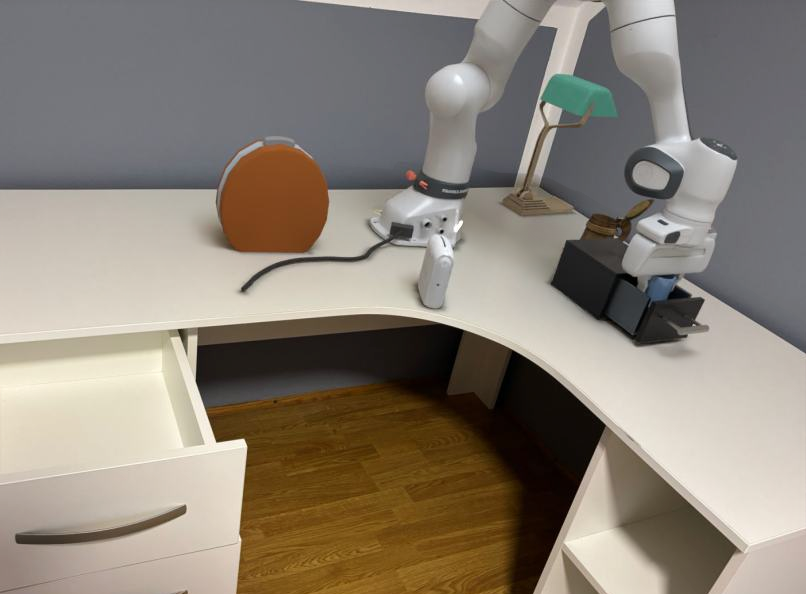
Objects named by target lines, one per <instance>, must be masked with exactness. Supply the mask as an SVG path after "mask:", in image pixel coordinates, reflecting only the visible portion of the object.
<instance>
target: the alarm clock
mask: <svg viewBox="0 0 806 594" xmlns="http://www.w3.org/2000/svg"><path fill="white" fill-rule="evenodd" d="M219 178H220V179H219V181H218V184H217V188H216V195H215V207H216V213H217V217H218V221H219V223H220V225H221V228H222V231H223V234H224V235H225V237H226V239H227V241H228V243H229V245H230V246H232V247H233V248H234V249H235V250H236V251H237V252H241V253H242V252H243V253H246V252H247V253H248V252H249V253H294V254H295V253H296V254H297V253H299V254H300V253H301V254H302V253H305V252H307V251H308V250H309V249H311V248H312V247H313V246H314V244H315V243H316V242H317V241H318V239H320V237H321V235H322V232H323V230H324V228H325V225H326V224H327V221H328V215H329V206H330V197H329V189H328V182H327V180H326V177H325V176H324V174H323V172H322V170H321V168H320V166H319V164H318V163H317V162H316V161H315V160H314V158H313V156H312V155H311V154H310V153H309V152H307V151H306V150H305V149H304V148H302V147H301V146H300V145H299V144H298V143H297V142H296V141H295V140H294V139H293V138H290V137H287V136H280V135H270V136H265V137H264V138H262V139H256V140H254V141H252V142H250V143H249V144H246V145H244V146H243V147H241V148H239V149H238V150H237V151H236V152H235V154H234V155H232V157H231V158H230V160H229V161H228V162H227V163H226V165H225V166H224V168H223V171H222V173H221V177H219Z"/></svg>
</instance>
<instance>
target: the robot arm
mask: <svg viewBox="0 0 806 594" xmlns="http://www.w3.org/2000/svg"><path fill="white" fill-rule="evenodd" d="M557 1H558V0H489V2H488V3H487V5H486V7H485V8H484V10H483V11H482V14H481V15H480V17H479V18H478V20H477V22H476V23H475V26H474V29H473V38H472V41H471V43H470V46H469V48H468V51H467V54H466V55H465V57H464V59H463V60H462V61H461V62H460V63H454V64H448V65H446V66H443V67H442V68H441V69H439V70H438V71H436V72H435V73H434V74H433V75H432V76H431V77H430V78H429V80H428V81H427V83H426V86H425V88H424V89H425V90H424V99H425V104H426V107H427V108H428V109H429V132H428V133H429V135H428V141H427V147H426V151H425V156H424V160H423V164H422V165H423V166H422V168H421V169H420V170H419V172H418V174H417V173H416V172H414V171H413V170H408V171H407V172H406V173H405V177H406V179H408V180H409V181H410V182H412V184H411V186H409V187H407V188H406V189H404V190H402V191H401V192H399V193H398V194H396V195H394V196H393V197H391V198H389V199H388V200H387V201H386V202H385V203H384V205H383V208H382V210H381V213H380V216H372V217H370V220H369V226H370V228H371V230H373V231H374V233H376V234H377V236H379V237H380V238H382V241H380V242H378V243H376V244H374V245H373V246H371V247H370V248H369V249H368V250H367V251H366V252H365V253H364V254H362V255H358V256H334V255H333V256H332V255H329V256H328V255H327V256H325V255H323V256H303V257H293V258H288V259H284V260H280V261H277V262H275V263H272V264H270V265H268V266H266V267H264V268H262V269H261V270H259V271H258V272H256V273H254V275H252V276H251V278H249V280H247V281H246V283H244V285H242V287H241V288H240V290H241V292H245V291H246V290H247V289H249V287H250V286H251V285H252V284H253V283H254V282H255V281H256V280H258V279H259V277H261V276H262V275H264V274H266V273H268V272H269V271H271V270H273V269H275V268H278V267H280V266H281V267H282V266H284V265H289V264H293V263H300V262H319V261H338V262H339V261H340V262H355V261H361V260H364V259H366V258H368V257H369V256H370V255H371V254H372V253H373V251H375V250H376V249H378V248H380V247H382V246H384V245H386V244H389V243H390V244H393V245H395V246H406V247H407V246H408V247H423V248H424V247H426V248H427V243H428V241H429V239H430V237H432V236H433V235H435V234H438V235H443V236H445V237H446V238H447V239H448V241H449V242H450V244H451V247H452V249H454V248H456V243H458V242H460V240H461V238H462V228H461V227H462V225H463V222H464V221H463V220H462V217H463V210H464V203H465V200H466V198H467V196H468V193H469V189H470V185H471V180H470V177H471V174H472V170H473V166H474V164H475V163H474V162H475V160H476V159H475V158H476V154H477V150H478V144H477V142H476V125H477V118H478V116H479V114H481V113H485V112H487V111H488V110H490V109H491V108H492V107H494V106H495V105H496V104H497V103H498V102H499V101H500V100H501V98H502V96H503V95H504V93H505V88H506V85H507V83H508V82H509V81H508V80H509V79H510V76H511V74H512V72H513V70H514V68H515V67H516V63H517V61H518V59H519V57H520V55H521V54H522V53H523V51H524V49H525V48H526V47H527V45H528V43H529V42H530V40H531V38H533V36H534V34H535V32H536V31H537V29H538V28H539V26H540V25H541V23H542V22H543V20H544V19H545V17H546V16H547V14H548V13H549V11H550V9H551V8H552V7H553V5H554V4H555V3H556V2H557ZM577 1H579V2H593V3H603V5H604V6H605V8H606V11H607V16H608V23H609V34H610V45H611V50H612V55H613V58H614V61H615V64H616V67H617V69H618V70H619V72H620V73H621V74H622V75H624V76H625V77H627V78H629V79H630V80H631V81H632V82H634V83H635V84H636V85H638V86H639V87H640V88H641V89H642V91H643V92H644V94H645V95H646V97H647V100H648V102H649V106H650V113H651V118H652V125H653V131H654V137H655V141H654V142H655V143H653V144H649V145H646V146H643V147H641V148H638V149H636V150H635V151H634V152H632V153H631V155H630V156H629V157H628V159H627V161H626V163H625V165H624V171H623V175H624V180H625V181H624V182H625V183H626V185H627V187H628V189H629V190H630V191H631V192H633V193H634V194H636V195H638V196H641V197H646V198H649V199H650V198H651V199H654V200H655V199H656V200H663V201H665V205H664V207H663V209H662V210H659V211H658V212H657V213H655V214H652V215H650V216H648V217H644V218H642V219H640V220H639V221H638V222H637V224H636V226H635V231H637V233H636V234H634V235H633V237H632V238H631V240H630V242H629V244H628V248H627V250H626V253H625V255H624V258H623V260H622V268H623V270H624V271H626V272H627V273H628V274H630V275H632V276H634V277H637V278H638V285H637V288H638V289H639V290H641V291H642V292H643V293H645V294H647V293H648V290H649V289H650V286H648V280H650V279H651V277H652V276H654V275H669V274H674V275H675V276H676V281H675V283H674V285H673V287H672V289H671V291H670V292H672V291H673V289H674V287H675V285H678V284H679V282H681V281H682V280H683V279H684V277H685V275H686V274H698V273H699V274H700V273H703V272H704V271H705V270H706V269H707V267H708V266H709V263H710V260H711V259H712V255H713V254H714V250H715V248H716V247H715V246H716V241H715V240H716V238H717V236H718V233H717V231H716V228H715V227H713V226H712V224H713V223H714V221H715V216H716V212H717V209H718V207H719V205H720V204H721V203H722V202H723V200H724V199H725V197H726V195H727V194H728V190H729V188H730V186H731V183H732V181H733V178H734V175H735V172H736V169H737V165H738V155H737V154H736V151H734V150H733V148H732V147H731V146H729V145H728V144H726V143H724V142H723V141H720V140H718V139H715V138H712V137H708V136H701V137H698V138H697V139H695V137H694V135H693V132H692V128H691V122H690V117H689V110H688V102H687V96H686V91H685V84H684V78H683V75H682V69H681V68H682V67H681V60H680V54H679V42H678V29H677V18H676V17H677V16H676V7H675V1H674V0H577Z"/></svg>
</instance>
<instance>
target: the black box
mask: <svg viewBox="0 0 806 594" xmlns="http://www.w3.org/2000/svg"><path fill="white" fill-rule="evenodd" d="M617 238H618V237H614V238H612V239H582V240H580V239H566V240H565V243H564V246H563V248H562V251H561V254H560V256H559V260H558V263H557V265H556V268H555V270H554V274H553V277H552V278H551V281H550V282H551V283H550V284H551V286H553V287H554V288H556V289H557V290H558V291H559V292H561V293H562V294H564V295H565V296H566V297H568V298H569V299H570V300H571V301H573V302H574V303H575V304H577V305H578V306H579V307H581V308H582V309H583V310H584V311H586V312H587V313H589V314H590V315H591V316H592V317H594V318H595V319H596V320H608V319H610V318H609V317H608V316H606V315H605V314H604V313H603V312H604V310H605V307H606V305H607V303H608V300H609V298H610V295H611V293H612V290H613V288H614V285H615V283H616V281H617V278H618V277H625V276H632V275H630V274H628V273H627V272H626V271H624V270H623V268H622V260H623V258H624V255H625V253H626V250H627V248H628V246H629V244H627V243H625V242H624V241H623V242H622V241H620V240H618V239H617Z"/></svg>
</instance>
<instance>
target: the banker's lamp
mask: <svg viewBox="0 0 806 594" xmlns="http://www.w3.org/2000/svg"><path fill="white" fill-rule="evenodd" d="M539 100H540V103H539V107H538V109H539V112H540V115H541V118H542V121H543V126H542V129H541V130H540V132H539V134H538V136H537V139H536V141H535V145H534V148H533V150H532V154H531V157H530V161H529V164H528V167H527V170H526V174H525V177H524V180H523V184H522V186H521V187H518V188H517V189H515V191H514V192H511V193H509V194H508V195H507V196H504V198H503V199H502V202H501V204H502V205H504V206H505V207H507V208H508V209H510V210H512V211H513V212H514V213H516V214H518V215H520V216H522V217H523V216H537V215H540V216H541V215H555V214H572V213H573V211H574V206H573V205H571V204H569V203H568V202H567V201H565V200H563V199H560V198H558V197H557V196H556V195H551V196H550V197H539V196H537V195H535V194H533V192H532V189H531V188H530V187H531V184H532V181H533V177H534V174H535V171H536V168H537V165H538V162H539V159H540V156H541V152H542V149H543V145H544V142H545V140H546V137H547V136H548V134H549V132H550V131H551V130H552V129H562V128H563V129H565V128H568V129H572V128H575V129H577V128H581V127H583V126H584V125H585V124H586V122H587V120H588V119H589V117H607V118H610V117H611V118H618V117H619V116H618V113H617V108H616V105H615V101H614V98H613V95H612V92H611V90H610V89H608V88H607V87H604V86H602V85H600V84H597V83H594V82H591V81H588V80H586V79H583V78H580V77H578V76H575V75H572V74H566V73H555V74H553V75H552V76H551V77H550V78H549V80H548V82H547V83H546V86H545V88H544V90H543V92H542V95H541V96H540V99H539ZM546 104H550V105H552V106H554V107H557V108H559V109H562V110H564V111H566V112H569V113H571V114H574V115H575V116H581V117H582V118H581V120H580V121H578V122H575V123H562V124H550V123H549V121H548V118H547V117H546V115H545V112H544V107H545V106H546Z"/></svg>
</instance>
